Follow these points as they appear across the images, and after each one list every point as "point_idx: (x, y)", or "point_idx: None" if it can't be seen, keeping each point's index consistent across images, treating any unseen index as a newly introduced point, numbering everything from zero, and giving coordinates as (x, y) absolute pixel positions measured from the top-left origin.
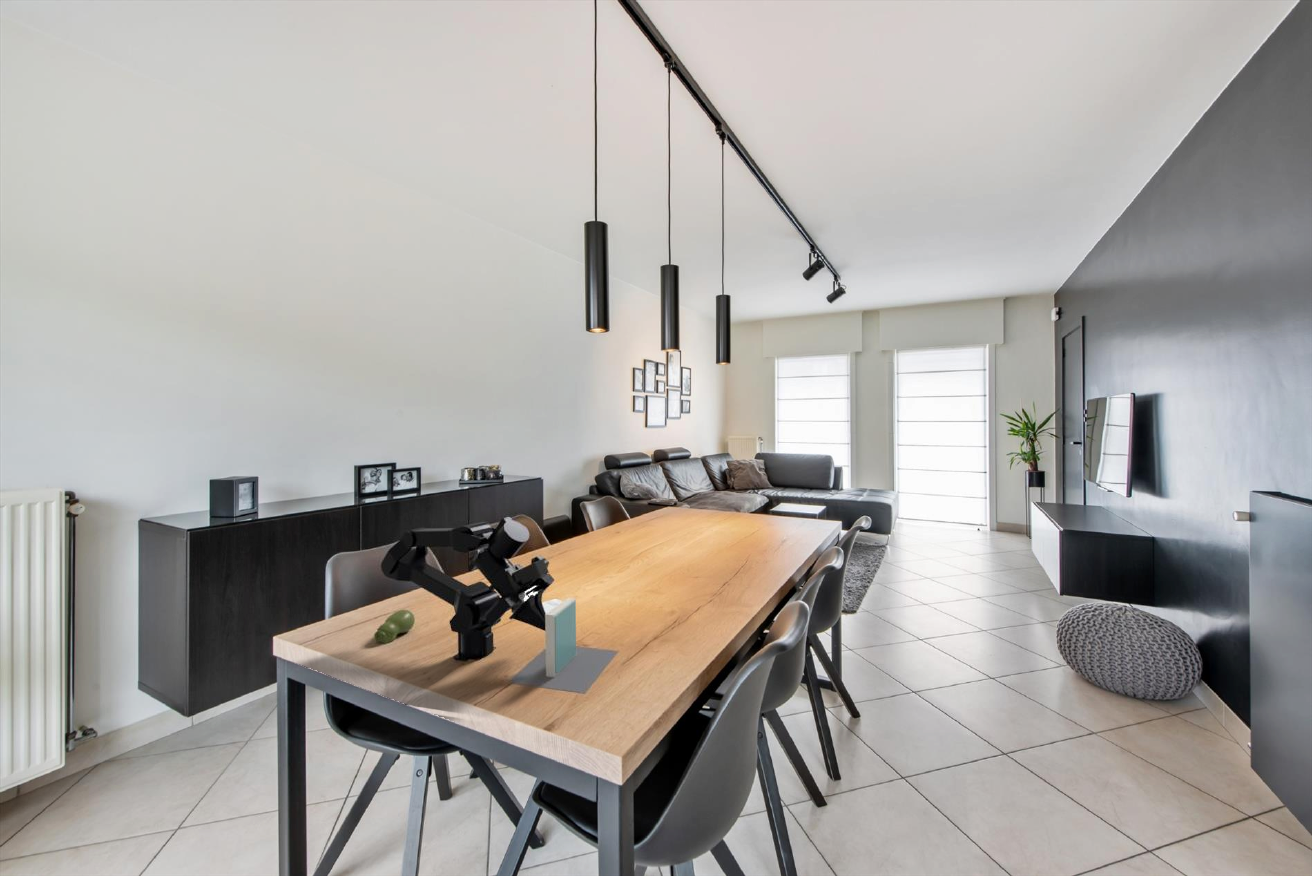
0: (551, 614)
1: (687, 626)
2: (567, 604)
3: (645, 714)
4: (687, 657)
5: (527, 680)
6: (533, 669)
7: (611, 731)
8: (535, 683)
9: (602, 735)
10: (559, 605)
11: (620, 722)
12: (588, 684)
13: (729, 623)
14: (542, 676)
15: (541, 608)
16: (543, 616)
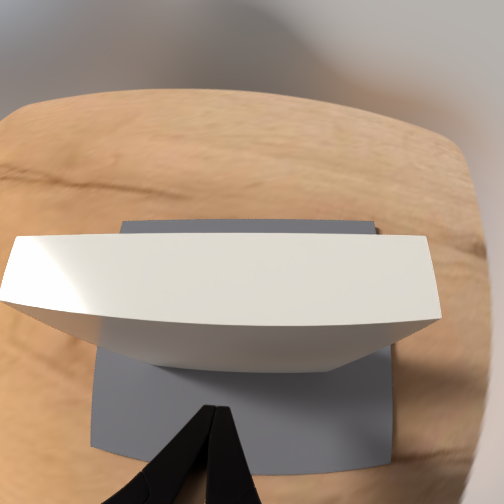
0: (422, 261)
1: (26, 152)
2: (130, 236)
3: (370, 121)
4: (148, 109)
5: (367, 413)
6: (292, 437)
7: (434, 155)
8: (377, 378)
9: (448, 164)
10: (164, 298)
11: (409, 147)
12: (333, 227)
13: (38, 111)
14: (331, 382)
15: (151, 499)
16: (194, 462)
